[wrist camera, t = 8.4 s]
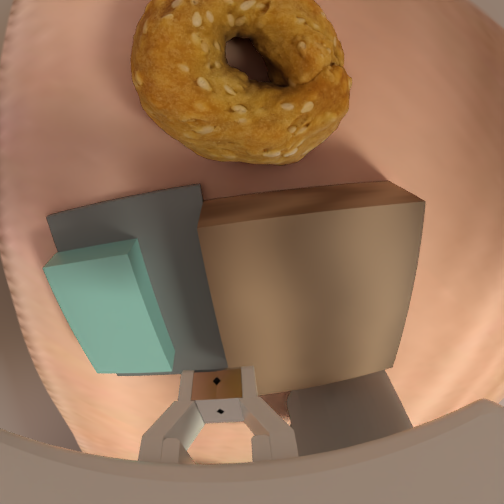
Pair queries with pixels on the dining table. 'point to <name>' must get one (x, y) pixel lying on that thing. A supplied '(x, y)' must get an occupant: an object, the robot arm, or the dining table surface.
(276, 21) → the bagel
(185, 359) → the mat
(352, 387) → the coffee mug
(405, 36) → the dining table surface
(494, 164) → the dining table surface
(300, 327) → the brown block
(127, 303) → the mint green block
